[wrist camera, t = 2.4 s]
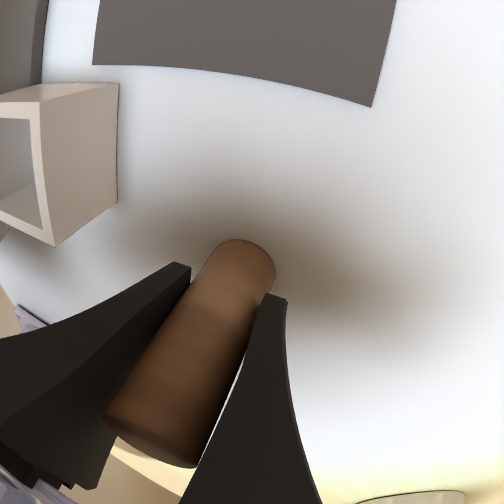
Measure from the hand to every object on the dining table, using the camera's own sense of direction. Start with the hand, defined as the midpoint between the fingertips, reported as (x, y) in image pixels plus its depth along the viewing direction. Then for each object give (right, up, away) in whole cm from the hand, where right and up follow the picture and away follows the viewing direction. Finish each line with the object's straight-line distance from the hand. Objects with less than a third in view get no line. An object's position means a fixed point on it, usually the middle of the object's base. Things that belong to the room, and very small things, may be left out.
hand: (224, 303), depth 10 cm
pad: (+1, +10, -4) cm, 11 cm away
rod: (+1, +1, +2) cm, 2 cm away
